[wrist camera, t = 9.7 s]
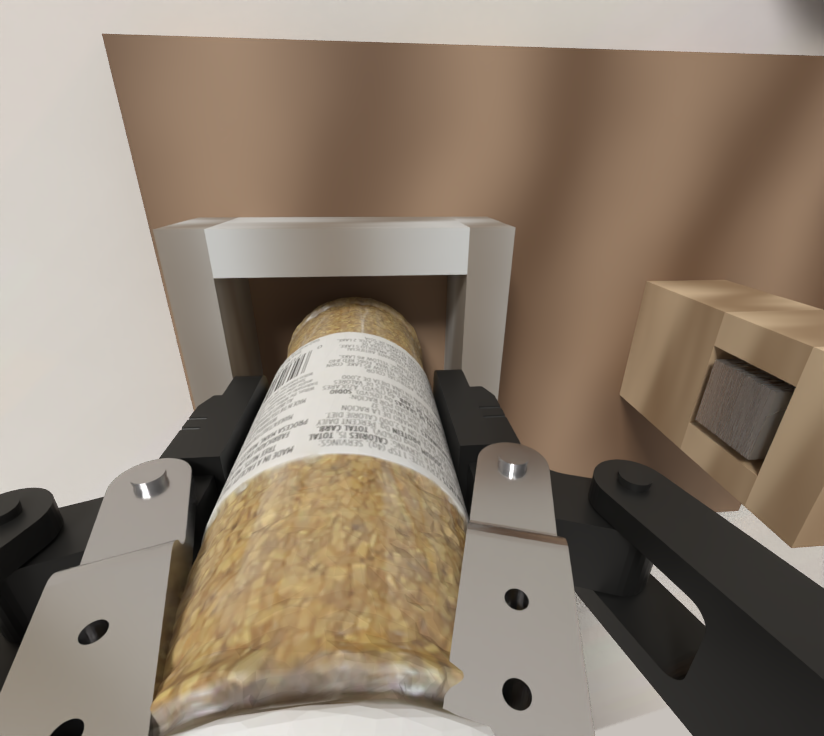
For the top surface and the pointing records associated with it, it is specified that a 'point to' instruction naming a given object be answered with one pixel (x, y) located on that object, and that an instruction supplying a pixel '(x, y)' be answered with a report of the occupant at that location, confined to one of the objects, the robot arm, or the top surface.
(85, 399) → the top surface
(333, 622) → the spice jar
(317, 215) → the socket base
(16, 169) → the top surface
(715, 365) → the bar
